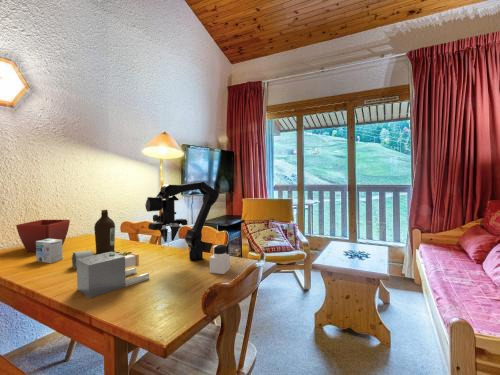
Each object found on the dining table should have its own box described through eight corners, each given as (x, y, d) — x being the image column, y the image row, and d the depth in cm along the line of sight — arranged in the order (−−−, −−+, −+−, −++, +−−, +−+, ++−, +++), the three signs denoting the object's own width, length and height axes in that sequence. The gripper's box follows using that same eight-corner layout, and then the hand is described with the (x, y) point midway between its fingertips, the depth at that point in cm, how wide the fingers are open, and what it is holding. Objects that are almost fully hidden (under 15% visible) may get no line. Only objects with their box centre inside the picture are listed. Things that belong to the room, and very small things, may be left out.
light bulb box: (35, 261, 134) (35, 241, 134) (49, 257, 141) (48, 238, 140) (50, 263, 131) (49, 242, 131) (63, 259, 138) (62, 239, 137)
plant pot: (48, 253, 149) (47, 224, 148) (15, 253, 149) (14, 224, 149) (71, 245, 168) (70, 219, 167) (42, 245, 168) (42, 219, 168)
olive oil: (92, 255, 144) (90, 211, 144) (98, 250, 155) (97, 209, 154) (112, 254, 147) (111, 210, 146) (117, 249, 157) (117, 208, 156)
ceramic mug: (95, 265, 127) (94, 250, 127) (76, 270, 121) (75, 253, 121) (88, 261, 134) (87, 247, 134) (69, 265, 128) (69, 250, 128)
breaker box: (135, 272, 117) (134, 245, 117) (149, 278, 110) (148, 249, 109) (77, 289, 99) (76, 257, 99) (89, 298, 92) (88, 263, 91)
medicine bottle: (230, 269, 121) (229, 244, 121) (223, 274, 114) (223, 247, 114) (216, 267, 123) (216, 242, 123) (209, 272, 117) (209, 246, 116)
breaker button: (133, 263, 113) (133, 252, 113) (138, 265, 110) (138, 254, 110) (104, 271, 104) (104, 259, 103) (109, 274, 101) (109, 261, 100)
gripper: (175, 207, 138) (175, 235, 139) (142, 210, 124) (142, 242, 124) (187, 208, 131) (188, 238, 132) (154, 212, 117) (155, 246, 117)
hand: (169, 241), depth 127 cm, fingers open, 4 cm apart
